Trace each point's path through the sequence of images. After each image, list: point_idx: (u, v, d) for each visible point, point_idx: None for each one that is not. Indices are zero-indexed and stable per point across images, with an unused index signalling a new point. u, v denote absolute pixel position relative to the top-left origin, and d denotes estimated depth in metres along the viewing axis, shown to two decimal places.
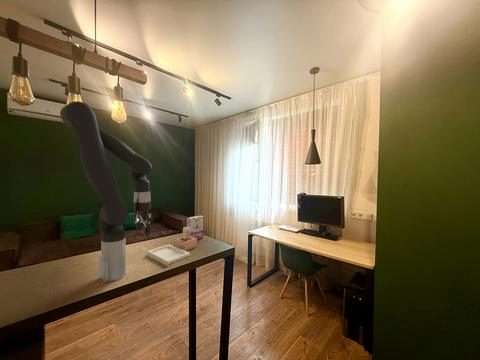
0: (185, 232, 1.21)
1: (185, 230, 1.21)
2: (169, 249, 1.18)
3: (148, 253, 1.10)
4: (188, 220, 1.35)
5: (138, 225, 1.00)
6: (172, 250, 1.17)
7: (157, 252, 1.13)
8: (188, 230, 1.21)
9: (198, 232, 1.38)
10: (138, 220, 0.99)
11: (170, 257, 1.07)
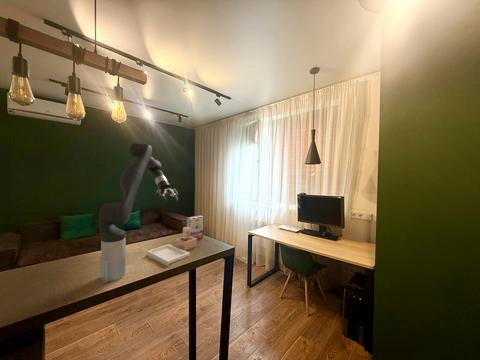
0: (185, 232, 1.21)
1: (185, 230, 1.21)
2: (169, 249, 1.18)
3: (148, 253, 1.10)
4: (188, 220, 1.35)
5: None
6: (172, 250, 1.17)
7: (157, 252, 1.13)
8: (188, 230, 1.21)
9: (198, 232, 1.38)
10: (164, 194, 1.31)
11: (170, 257, 1.07)
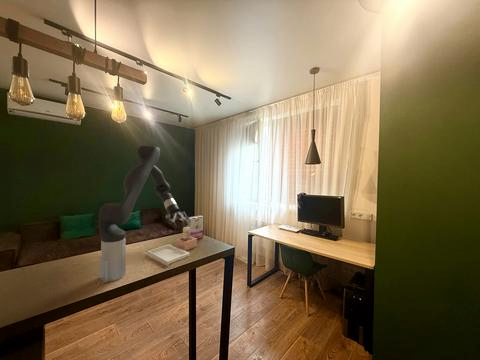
0: (185, 232, 1.21)
1: (185, 230, 1.21)
2: (169, 249, 1.18)
3: (148, 253, 1.10)
4: (188, 220, 1.35)
5: None
6: (172, 250, 1.17)
7: (157, 252, 1.13)
8: (188, 230, 1.21)
9: (198, 232, 1.38)
10: (174, 219, 1.25)
11: (170, 257, 1.07)
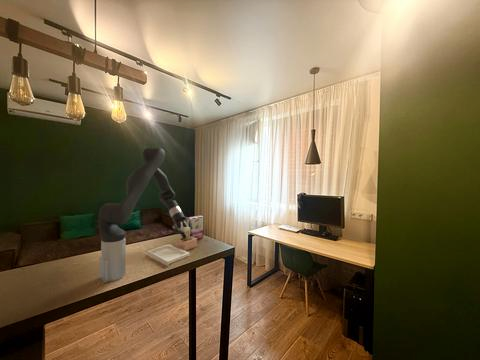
0: (185, 232, 1.21)
1: (185, 230, 1.21)
2: (169, 249, 1.18)
3: (148, 253, 1.10)
4: (188, 220, 1.35)
5: None
6: (172, 250, 1.17)
7: (157, 252, 1.13)
8: (188, 230, 1.21)
9: (198, 232, 1.38)
10: None
11: (170, 257, 1.07)
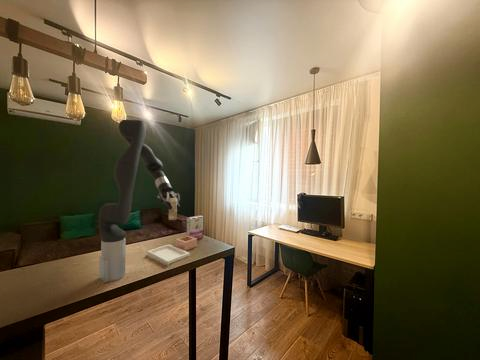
0: (171, 202, 1.10)
1: (171, 200, 1.10)
2: (169, 249, 1.18)
3: (148, 253, 1.10)
4: (188, 220, 1.35)
5: None
6: (172, 250, 1.17)
7: (157, 252, 1.13)
8: (175, 200, 1.10)
9: (198, 232, 1.38)
10: (168, 199, 1.11)
11: (170, 257, 1.07)
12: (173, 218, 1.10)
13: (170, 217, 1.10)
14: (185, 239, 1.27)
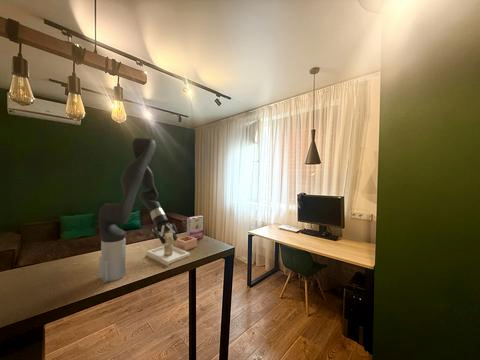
0: (167, 238, 1.08)
1: (167, 236, 1.08)
2: None
3: (148, 253, 1.10)
4: (188, 220, 1.35)
5: None
6: (172, 250, 1.17)
7: (157, 252, 1.13)
8: (170, 236, 1.09)
9: (198, 232, 1.38)
10: (162, 233, 1.09)
11: (170, 257, 1.07)
12: (169, 254, 1.09)
13: (166, 253, 1.09)
14: (185, 239, 1.27)
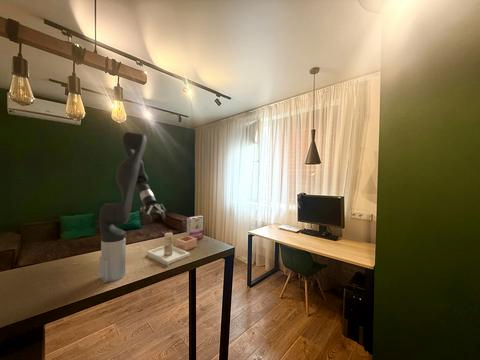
0: (167, 238, 1.08)
1: (167, 236, 1.08)
2: None
3: (148, 253, 1.10)
4: (188, 220, 1.35)
5: None
6: (172, 250, 1.17)
7: (157, 252, 1.13)
8: (170, 236, 1.09)
9: (198, 232, 1.38)
10: (149, 212, 1.16)
11: (170, 257, 1.07)
12: (169, 254, 1.09)
13: (166, 253, 1.09)
14: (185, 239, 1.27)
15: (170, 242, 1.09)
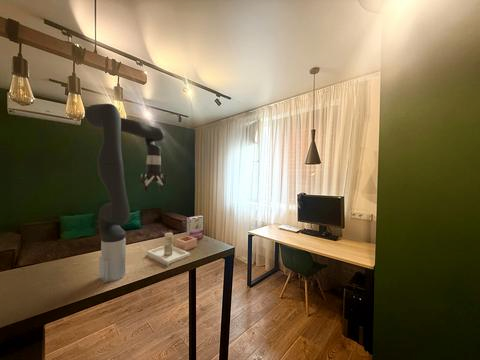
0: (167, 238, 1.08)
1: (167, 236, 1.08)
2: None
3: (148, 253, 1.10)
4: (188, 220, 1.35)
5: None
6: (172, 250, 1.17)
7: (157, 252, 1.13)
8: (170, 236, 1.09)
9: (198, 232, 1.38)
10: None
11: (170, 257, 1.07)
12: (169, 254, 1.09)
13: (166, 253, 1.09)
14: (185, 239, 1.27)
15: (170, 242, 1.09)
